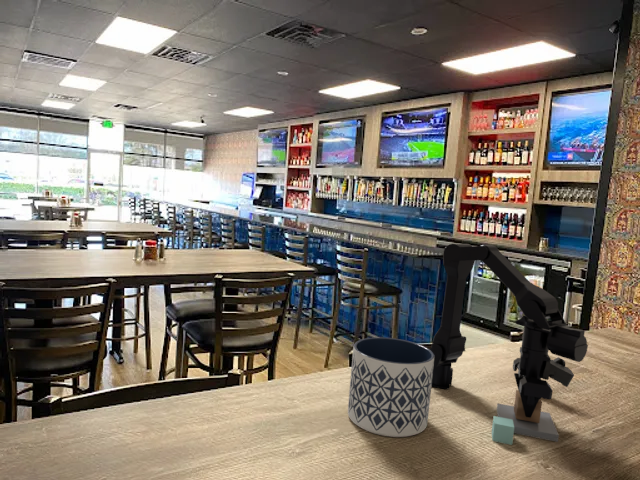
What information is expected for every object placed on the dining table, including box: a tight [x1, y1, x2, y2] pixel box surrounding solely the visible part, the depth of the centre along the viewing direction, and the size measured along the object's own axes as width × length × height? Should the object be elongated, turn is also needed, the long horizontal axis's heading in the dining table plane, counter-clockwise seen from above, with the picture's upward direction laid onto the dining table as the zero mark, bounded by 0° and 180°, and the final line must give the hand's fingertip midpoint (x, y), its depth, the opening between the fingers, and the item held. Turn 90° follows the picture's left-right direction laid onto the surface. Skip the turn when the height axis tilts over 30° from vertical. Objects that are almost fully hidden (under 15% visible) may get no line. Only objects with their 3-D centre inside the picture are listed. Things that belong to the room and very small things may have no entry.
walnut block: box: [513, 389, 543, 423], centre depth 113 cm, size 5×5×5 cm
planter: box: [347, 336, 434, 438], centre depth 110 cm, size 18×18×16 cm
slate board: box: [496, 402, 560, 443], centre depth 113 cm, size 12×12×2 cm
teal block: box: [491, 415, 515, 446], centre depth 105 cm, size 4×4×4 cm
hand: (526, 412), depth 113 cm, fingers closed on walnut block, 5 cm apart
